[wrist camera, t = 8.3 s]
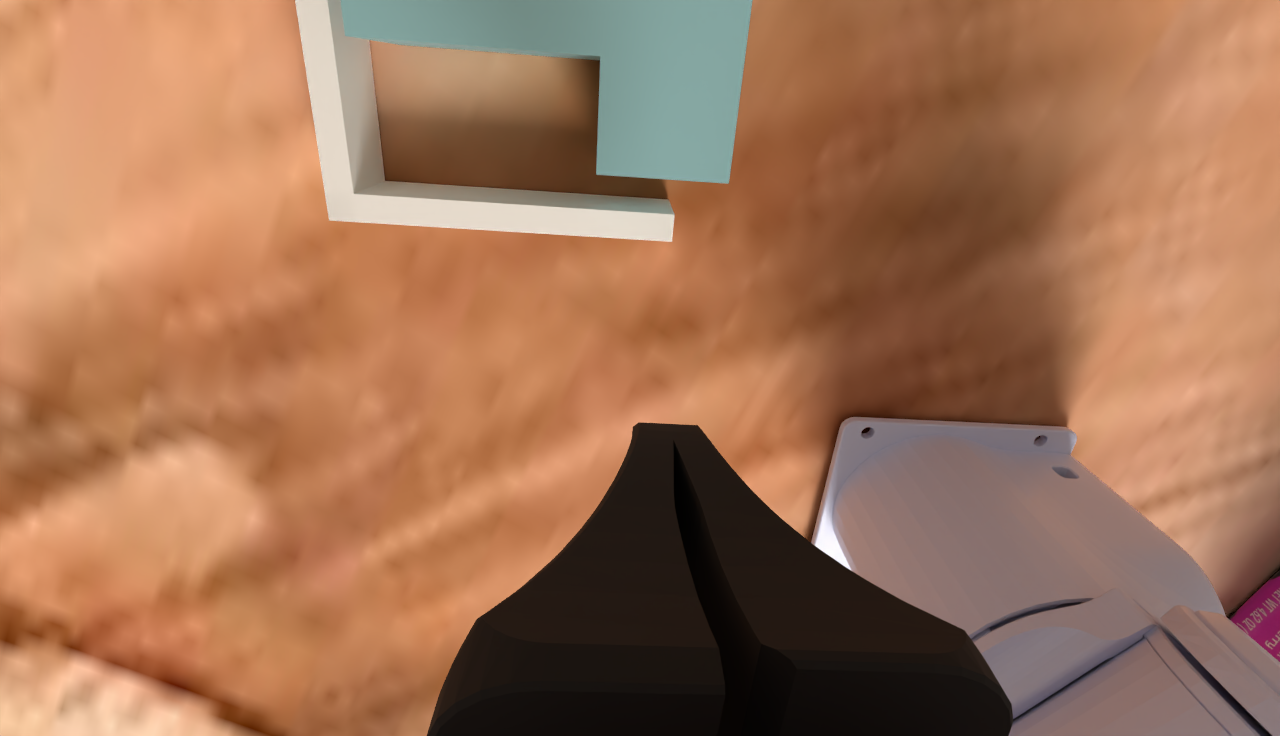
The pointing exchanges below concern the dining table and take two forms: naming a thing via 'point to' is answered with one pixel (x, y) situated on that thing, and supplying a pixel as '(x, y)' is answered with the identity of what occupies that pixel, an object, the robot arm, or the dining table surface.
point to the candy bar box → (1262, 616)
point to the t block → (606, 66)
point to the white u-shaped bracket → (366, 197)
